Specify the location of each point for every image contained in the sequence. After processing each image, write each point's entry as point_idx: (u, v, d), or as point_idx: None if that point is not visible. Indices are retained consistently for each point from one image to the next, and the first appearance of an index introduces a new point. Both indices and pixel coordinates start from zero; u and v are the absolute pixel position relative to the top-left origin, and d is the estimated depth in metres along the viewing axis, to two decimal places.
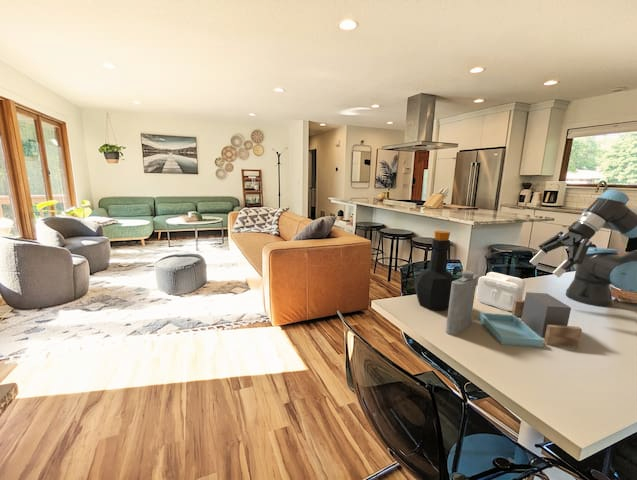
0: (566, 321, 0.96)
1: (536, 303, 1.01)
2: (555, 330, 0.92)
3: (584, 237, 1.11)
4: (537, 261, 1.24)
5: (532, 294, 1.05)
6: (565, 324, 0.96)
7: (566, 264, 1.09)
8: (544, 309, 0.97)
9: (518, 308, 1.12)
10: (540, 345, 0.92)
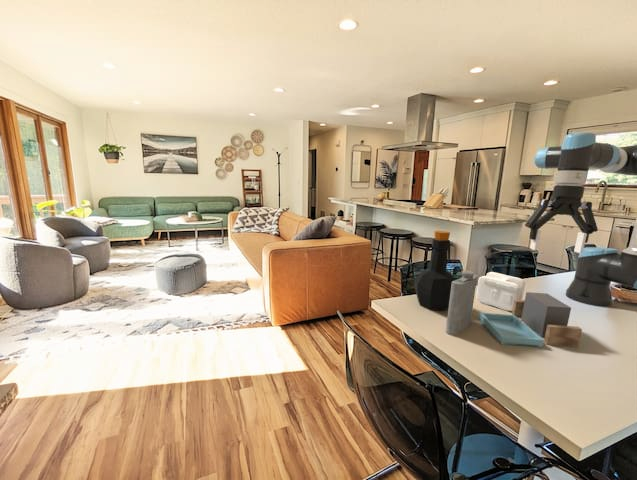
0: (566, 321, 0.96)
1: (536, 303, 1.01)
2: (555, 330, 0.92)
3: None
4: None
5: (532, 294, 1.05)
6: (565, 324, 0.96)
7: (586, 237, 0.96)
8: (545, 309, 0.97)
9: (518, 308, 1.12)
10: (540, 345, 0.92)
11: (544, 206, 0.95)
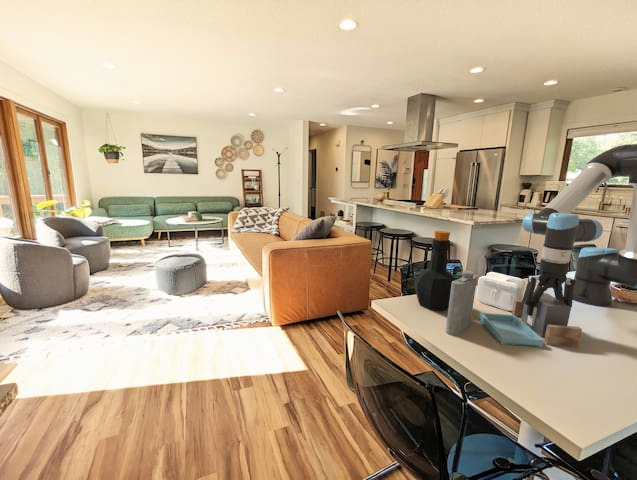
0: (566, 321, 0.96)
1: (537, 303, 1.01)
2: (555, 330, 0.92)
3: None
4: None
5: None
6: (565, 324, 0.96)
7: None
8: (545, 308, 0.97)
9: (518, 308, 1.12)
10: (540, 345, 0.92)
11: (533, 284, 0.99)
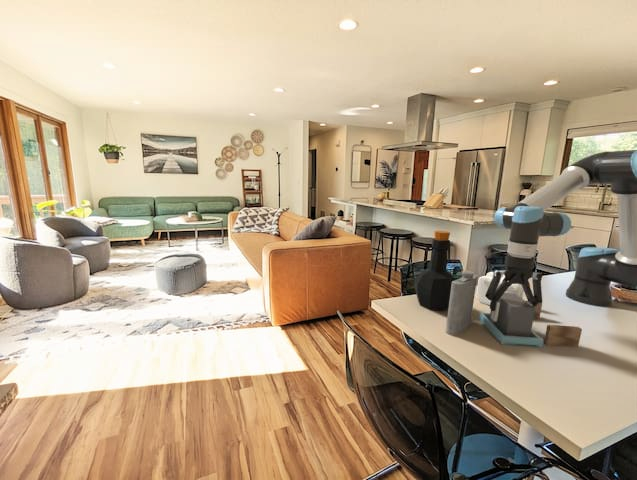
0: (530, 322, 0.93)
1: (502, 303, 0.98)
2: (555, 330, 0.92)
3: None
4: None
5: None
6: (530, 325, 0.93)
7: None
8: (509, 309, 0.94)
9: None
10: (540, 345, 0.92)
11: (497, 278, 0.96)
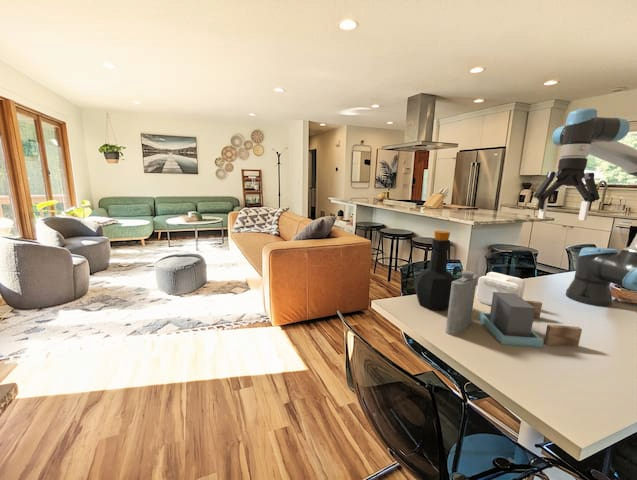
0: (530, 322, 0.93)
1: (502, 303, 0.98)
2: (555, 330, 0.92)
3: None
4: None
5: (499, 294, 1.03)
6: (530, 325, 0.93)
7: (589, 206, 1.05)
8: (509, 309, 0.94)
9: None
10: (540, 345, 0.92)
11: (551, 178, 1.04)
